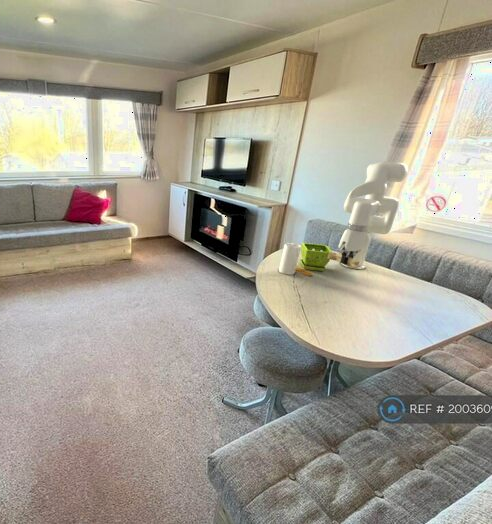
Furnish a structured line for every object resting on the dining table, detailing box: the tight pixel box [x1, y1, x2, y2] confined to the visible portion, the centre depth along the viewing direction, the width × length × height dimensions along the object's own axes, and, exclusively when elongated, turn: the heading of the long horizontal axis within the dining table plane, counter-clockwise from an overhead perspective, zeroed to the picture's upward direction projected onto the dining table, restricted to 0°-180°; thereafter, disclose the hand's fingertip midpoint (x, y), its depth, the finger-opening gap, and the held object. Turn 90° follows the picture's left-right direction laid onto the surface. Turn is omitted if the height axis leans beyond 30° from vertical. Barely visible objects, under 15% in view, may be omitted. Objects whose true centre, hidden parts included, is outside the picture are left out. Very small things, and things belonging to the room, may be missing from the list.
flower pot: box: [299, 242, 334, 272], centre depth 182 cm, size 14×14×13 cm
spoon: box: [328, 252, 359, 270], centre depth 155 cm, size 16×5×4 cm, turn 16°
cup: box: [278, 242, 302, 276], centre depth 173 cm, size 8×8×16 cm
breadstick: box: [295, 265, 313, 277], centre depth 176 cm, size 10×2×2 cm, turn 32°
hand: (345, 263), depth 153 cm, fingers closed on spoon, 2 cm apart
